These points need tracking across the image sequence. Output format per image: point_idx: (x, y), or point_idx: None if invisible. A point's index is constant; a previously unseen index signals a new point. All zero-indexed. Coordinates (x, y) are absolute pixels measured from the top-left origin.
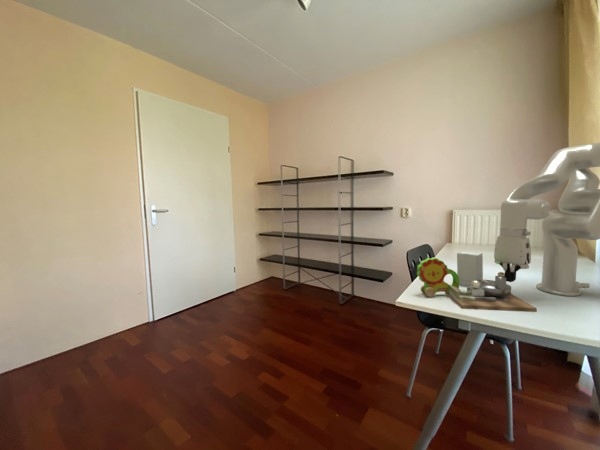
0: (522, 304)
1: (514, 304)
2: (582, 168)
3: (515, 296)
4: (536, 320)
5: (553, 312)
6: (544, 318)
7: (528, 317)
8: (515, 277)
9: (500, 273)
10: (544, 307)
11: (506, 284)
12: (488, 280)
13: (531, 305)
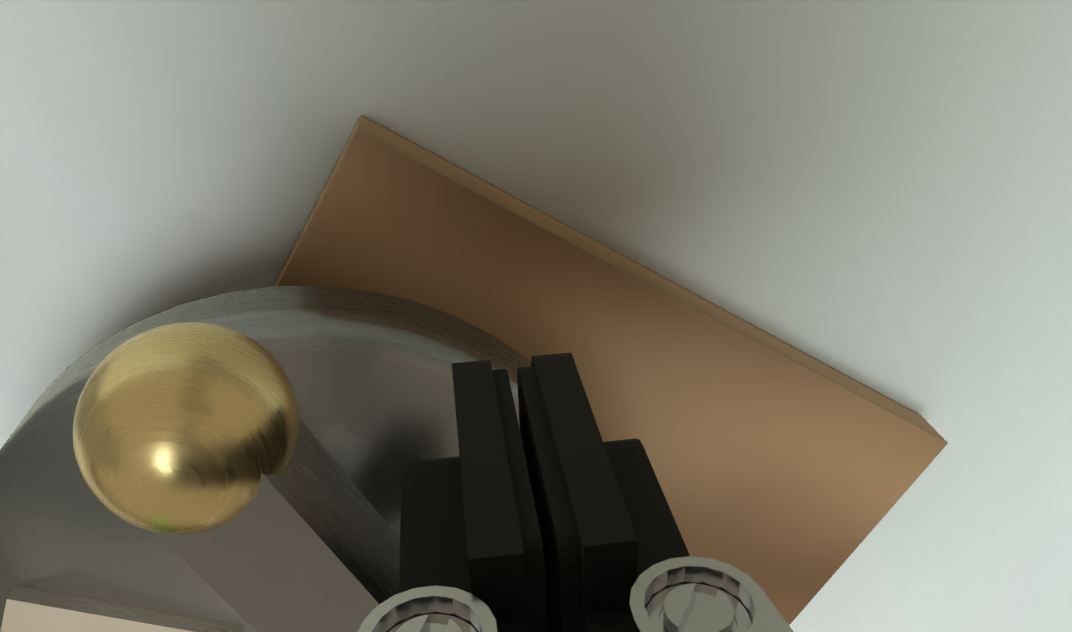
0: (795, 483)
1: (737, 567)
2: None
3: (569, 248)
4: (987, 626)
5: (1062, 250)
6: (1027, 520)
7: (917, 629)
8: (648, 481)
9: (219, 549)
10: (942, 162)
11: (439, 403)
12: (53, 489)
13: (876, 410)
